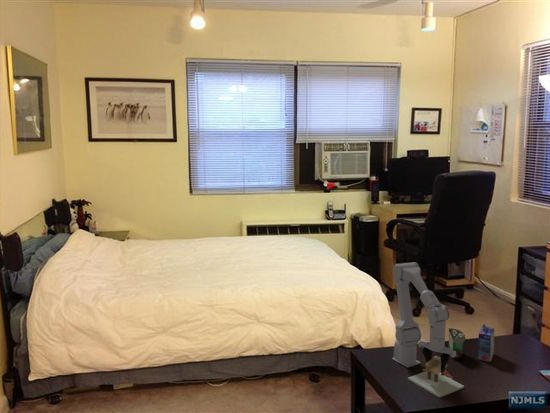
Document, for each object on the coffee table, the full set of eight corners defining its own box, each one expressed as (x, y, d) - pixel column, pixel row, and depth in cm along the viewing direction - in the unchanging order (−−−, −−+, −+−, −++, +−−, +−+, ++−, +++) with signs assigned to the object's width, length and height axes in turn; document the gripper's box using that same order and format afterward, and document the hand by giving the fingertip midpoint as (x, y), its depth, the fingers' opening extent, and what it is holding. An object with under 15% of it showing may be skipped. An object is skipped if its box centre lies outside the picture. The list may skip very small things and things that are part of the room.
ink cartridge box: (480, 350, 217) (482, 320, 215) (493, 353, 214) (495, 323, 212) (477, 359, 208) (478, 328, 206) (490, 362, 205) (492, 330, 203)
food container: (467, 361, 207) (468, 339, 205) (452, 359, 208) (453, 338, 207) (461, 348, 219) (462, 328, 217) (447, 347, 220) (448, 327, 219)
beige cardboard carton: (425, 379, 186) (425, 363, 185) (434, 370, 193) (435, 355, 192) (437, 383, 183) (438, 367, 182) (446, 374, 189) (447, 359, 188)
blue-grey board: (407, 379, 191) (407, 377, 191) (431, 370, 198) (432, 369, 198) (439, 397, 178) (439, 395, 177) (464, 387, 185) (464, 385, 184)
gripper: (459, 337, 183) (458, 370, 185) (424, 328, 193) (423, 359, 195) (452, 343, 178) (451, 377, 180) (416, 333, 188) (415, 365, 190)
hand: (436, 368), depth 187 cm, fingers closed on beige cardboard carton, 5 cm apart
